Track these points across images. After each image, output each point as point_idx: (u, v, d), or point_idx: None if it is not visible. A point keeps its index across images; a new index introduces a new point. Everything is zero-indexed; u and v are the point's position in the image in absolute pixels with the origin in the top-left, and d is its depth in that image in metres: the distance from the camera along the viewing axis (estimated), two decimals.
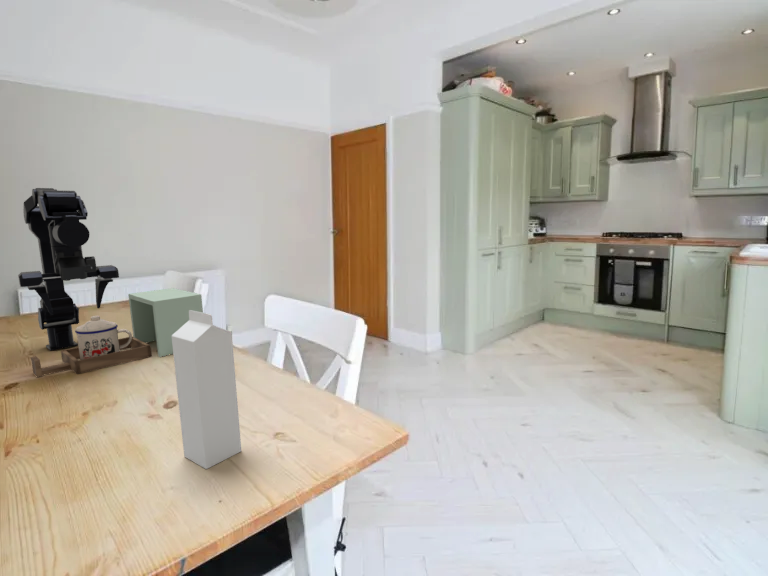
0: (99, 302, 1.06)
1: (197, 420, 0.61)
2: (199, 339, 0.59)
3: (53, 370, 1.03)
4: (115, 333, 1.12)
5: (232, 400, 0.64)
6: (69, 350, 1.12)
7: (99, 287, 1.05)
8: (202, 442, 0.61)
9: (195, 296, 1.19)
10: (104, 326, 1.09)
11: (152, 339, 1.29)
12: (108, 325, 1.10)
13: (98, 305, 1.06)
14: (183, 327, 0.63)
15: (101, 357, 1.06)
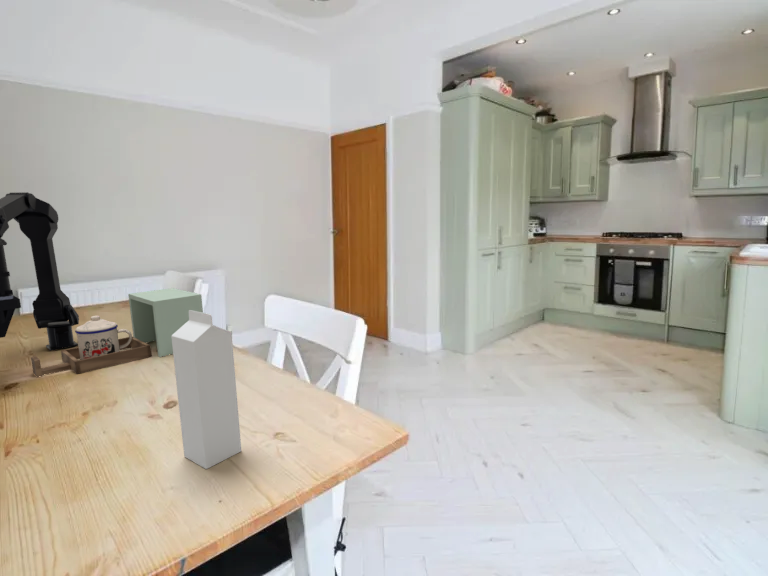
0: None
1: (197, 420, 0.61)
2: (199, 339, 0.59)
3: (53, 370, 1.03)
4: (115, 333, 1.12)
5: (232, 400, 0.64)
6: (69, 350, 1.12)
7: None
8: (202, 442, 0.61)
9: (195, 296, 1.19)
10: (104, 326, 1.09)
11: (152, 339, 1.29)
12: (108, 325, 1.10)
13: None
14: (183, 327, 0.63)
15: (101, 357, 1.06)
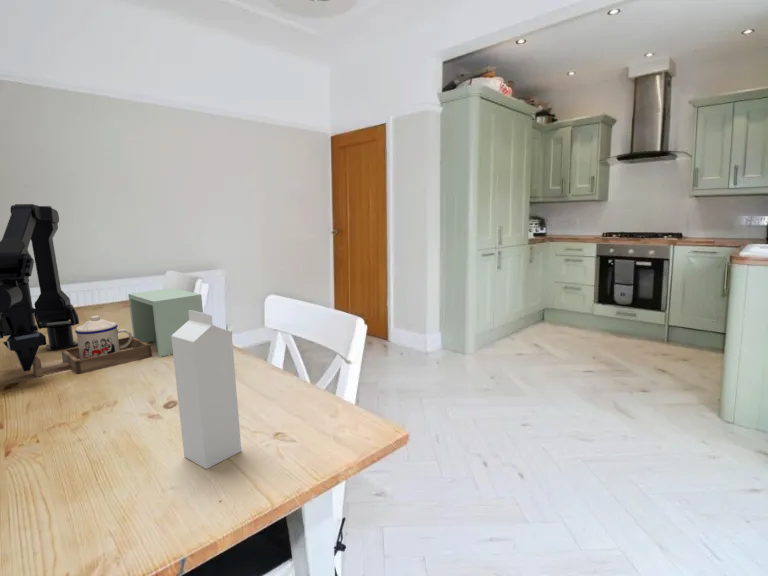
0: (21, 365, 1.00)
1: (197, 420, 0.61)
2: (199, 339, 0.59)
3: (54, 370, 1.03)
4: (115, 333, 1.12)
5: (232, 400, 0.64)
6: (69, 350, 1.12)
7: (15, 351, 0.98)
8: (202, 442, 0.61)
9: (195, 296, 1.19)
10: (104, 326, 1.09)
11: (152, 339, 1.29)
12: (108, 325, 1.10)
13: None
14: (183, 327, 0.63)
15: (101, 357, 1.06)
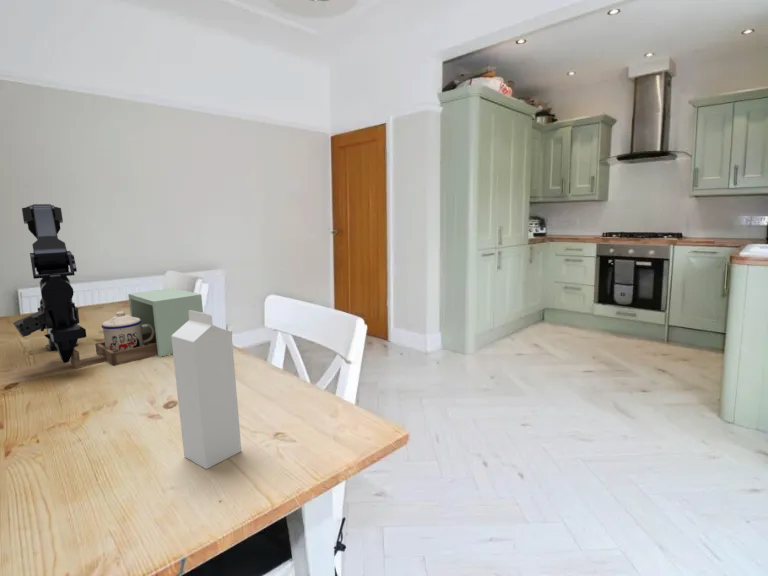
0: (61, 357, 1.05)
1: (196, 420, 0.61)
2: (199, 339, 0.59)
3: (90, 362, 1.09)
4: (139, 328, 1.16)
5: (232, 400, 0.64)
6: (103, 343, 1.17)
7: (55, 343, 1.04)
8: (202, 442, 0.61)
9: (195, 296, 1.19)
10: (130, 321, 1.13)
11: None
12: (133, 320, 1.14)
13: None
14: (183, 327, 0.63)
15: (135, 349, 1.11)
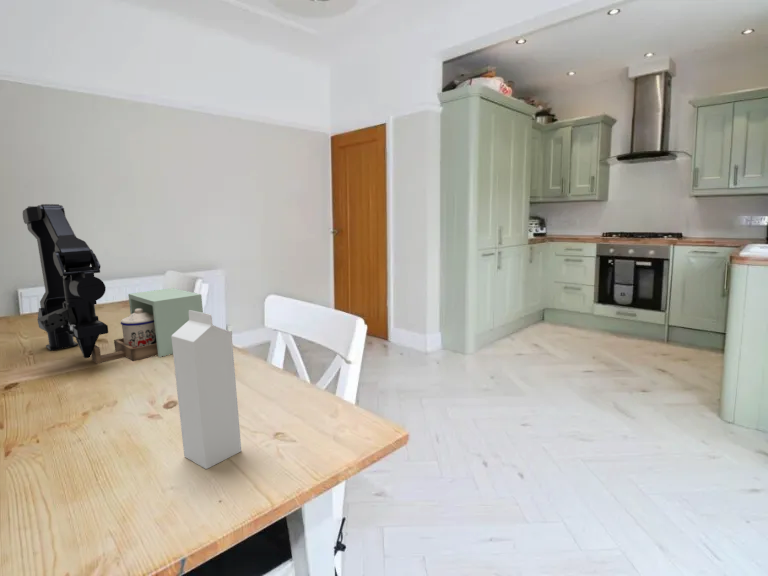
0: (83, 353, 1.08)
1: (196, 420, 0.61)
2: (199, 339, 0.59)
3: (110, 358, 1.12)
4: None
5: (232, 400, 0.64)
6: (121, 340, 1.21)
7: (78, 339, 1.07)
8: (202, 442, 0.61)
9: (195, 296, 1.19)
10: (148, 318, 1.17)
11: None
12: (151, 317, 1.18)
13: None
14: (183, 327, 0.63)
15: (154, 345, 1.14)
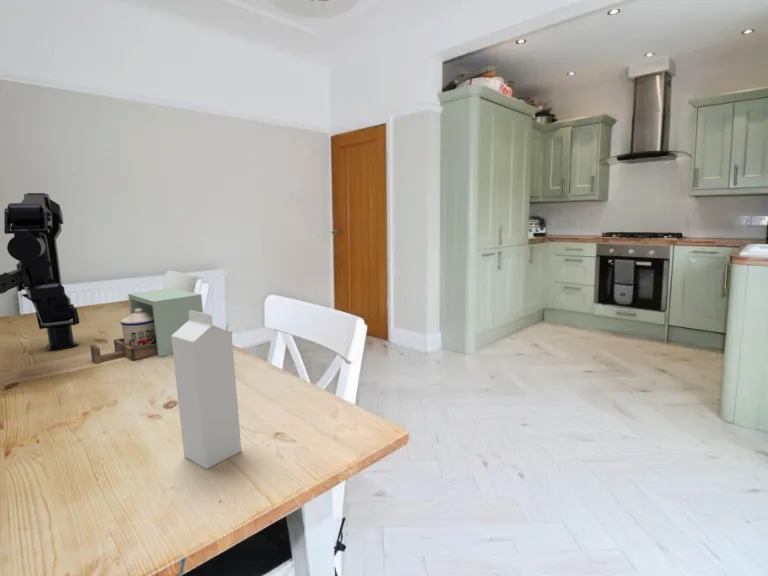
0: (39, 317, 1.03)
1: (197, 420, 0.61)
2: (199, 339, 0.59)
3: (110, 358, 1.12)
4: None
5: (232, 400, 0.64)
6: (121, 340, 1.21)
7: (33, 302, 1.02)
8: (202, 442, 0.61)
9: (195, 296, 1.19)
10: (148, 318, 1.17)
11: None
12: (151, 317, 1.18)
13: None
14: (183, 327, 0.63)
15: (153, 345, 1.14)
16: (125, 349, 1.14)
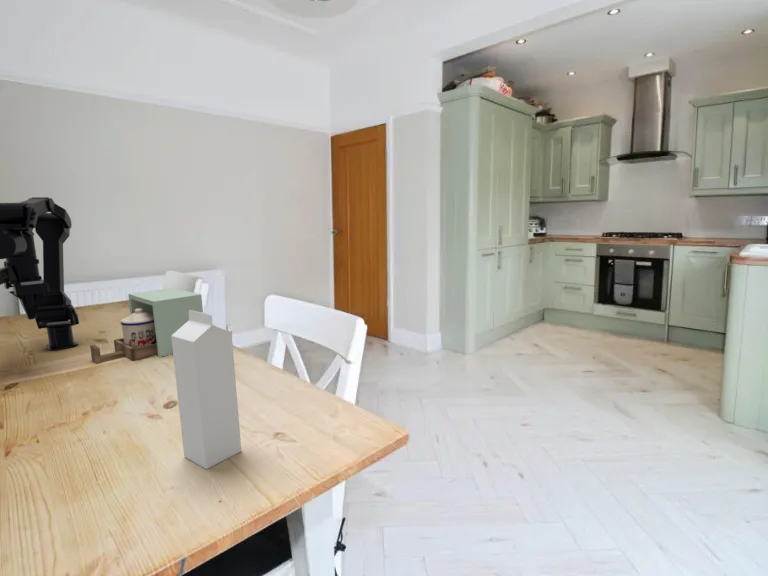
0: (26, 313, 1.06)
1: (197, 420, 0.61)
2: (199, 339, 0.59)
3: (110, 358, 1.12)
4: None
5: (232, 400, 0.64)
6: (121, 340, 1.21)
7: (20, 299, 1.04)
8: (202, 442, 0.61)
9: (195, 296, 1.19)
10: (148, 318, 1.17)
11: None
12: (151, 317, 1.18)
13: None
14: (183, 327, 0.63)
15: (153, 345, 1.14)
16: (125, 349, 1.14)
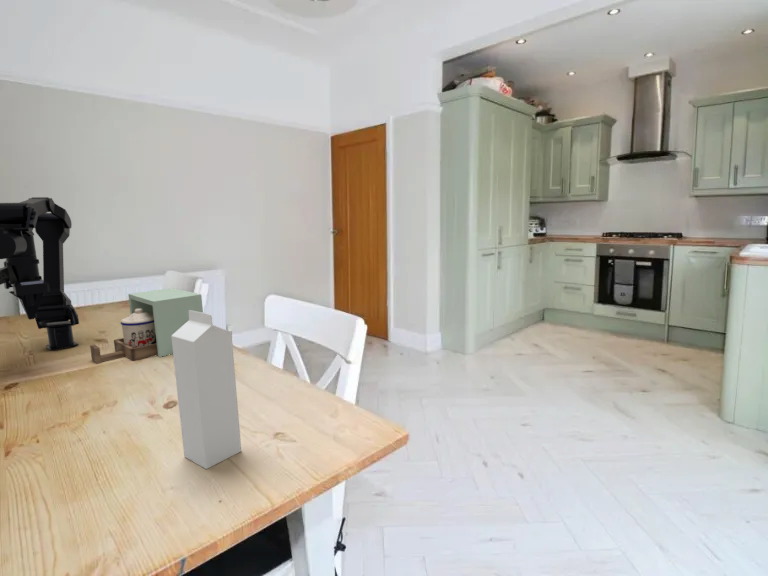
0: (26, 313, 1.06)
1: (197, 420, 0.61)
2: (199, 339, 0.59)
3: (110, 358, 1.12)
4: None
5: (232, 400, 0.64)
6: (121, 340, 1.21)
7: (20, 299, 1.04)
8: (202, 442, 0.61)
9: (195, 296, 1.19)
10: (148, 318, 1.17)
11: None
12: (151, 317, 1.18)
13: None
14: (183, 327, 0.63)
15: (153, 345, 1.14)
16: (125, 349, 1.14)
